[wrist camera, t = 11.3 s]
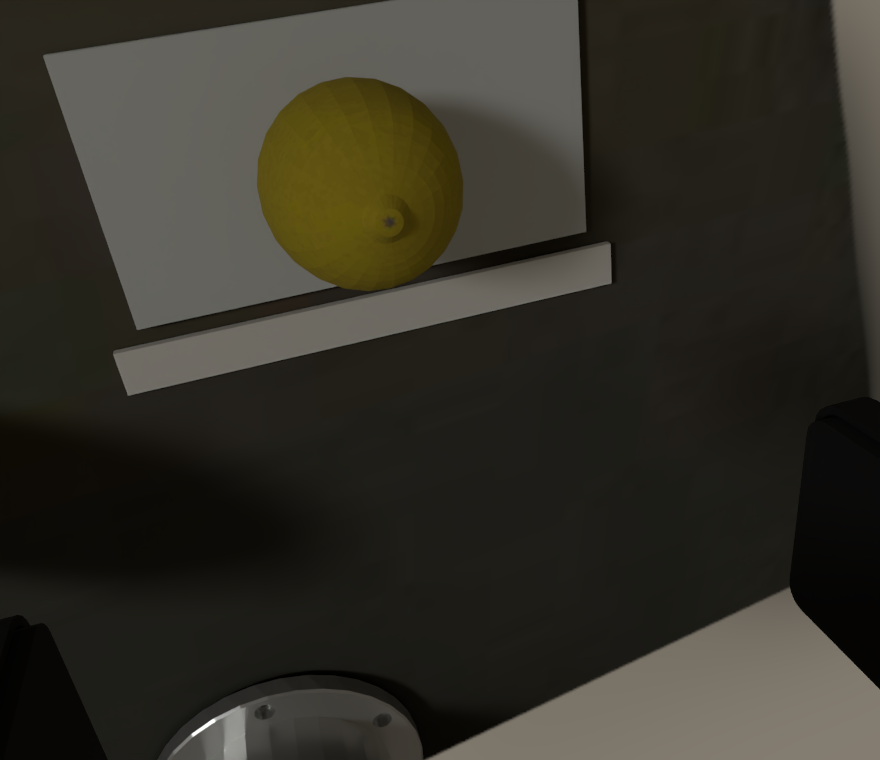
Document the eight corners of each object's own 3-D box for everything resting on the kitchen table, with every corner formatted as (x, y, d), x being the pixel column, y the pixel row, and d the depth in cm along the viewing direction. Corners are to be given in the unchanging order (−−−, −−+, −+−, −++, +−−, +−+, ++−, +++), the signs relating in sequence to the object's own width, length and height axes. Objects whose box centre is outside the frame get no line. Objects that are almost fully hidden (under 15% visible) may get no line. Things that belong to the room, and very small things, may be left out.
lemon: (440, 88, 25) (530, 131, 19) (398, 253, 28) (465, 347, 21) (265, 41, 24) (295, 70, 17) (234, 222, 26) (249, 314, 19)
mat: (581, 228, 29) (586, 232, 29) (137, 325, 27) (137, 329, 26) (571, -29, 25) (576, -28, 25) (45, 54, 23) (42, 56, 22)
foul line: (607, 280, 31) (611, 283, 30) (129, 391, 28) (128, 395, 27) (607, 241, 30) (610, 243, 30) (113, 350, 27) (113, 354, 27)
